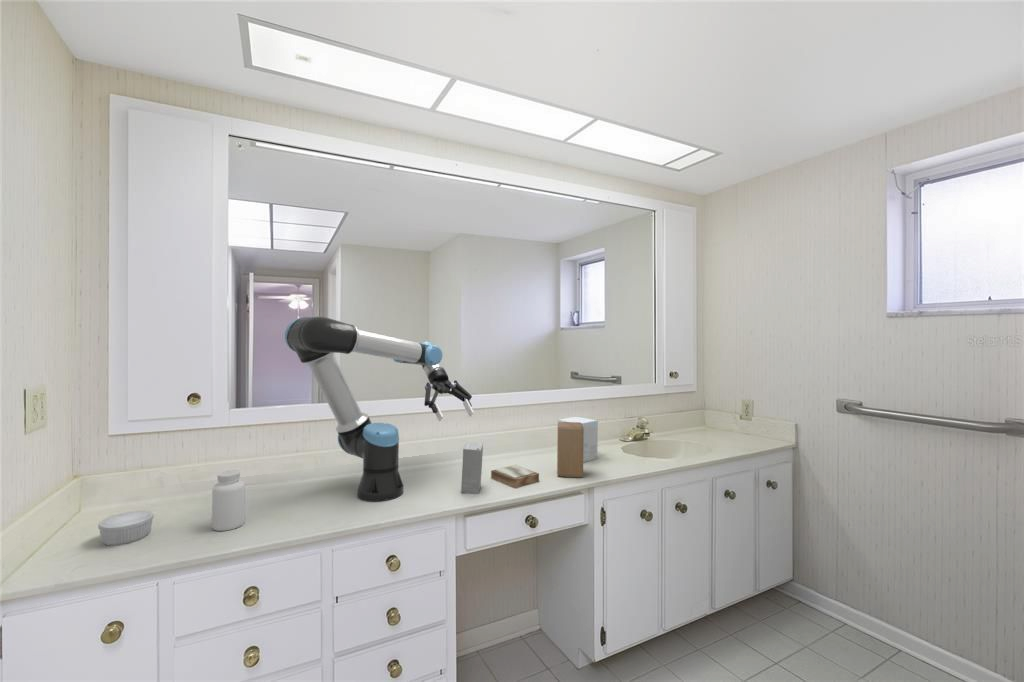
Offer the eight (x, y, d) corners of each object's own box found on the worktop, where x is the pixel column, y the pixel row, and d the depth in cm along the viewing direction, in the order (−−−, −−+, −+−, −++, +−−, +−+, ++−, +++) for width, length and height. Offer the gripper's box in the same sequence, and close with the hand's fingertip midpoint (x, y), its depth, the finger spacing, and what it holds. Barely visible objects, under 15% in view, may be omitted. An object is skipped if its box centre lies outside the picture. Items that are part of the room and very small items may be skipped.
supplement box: (575, 453, 208) (575, 416, 208) (598, 458, 199) (598, 420, 199) (556, 457, 199) (556, 419, 199) (579, 464, 190) (579, 423, 190)
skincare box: (463, 485, 160) (464, 442, 160) (483, 485, 160) (483, 442, 160) (460, 493, 152) (460, 448, 152) (480, 494, 152) (481, 448, 152)
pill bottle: (208, 533, 119) (209, 478, 119) (215, 522, 127) (215, 470, 127) (242, 529, 122) (243, 475, 122) (247, 518, 130) (247, 467, 130)
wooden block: (581, 470, 180) (582, 422, 180) (583, 478, 170) (583, 426, 170) (557, 469, 181) (557, 421, 181) (557, 477, 171) (557, 426, 171)
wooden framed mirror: (514, 488, 158) (514, 478, 158) (491, 478, 169) (491, 469, 169) (538, 481, 166) (538, 472, 166) (515, 472, 177) (515, 464, 177)
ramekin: (132, 547, 112) (132, 526, 112) (85, 548, 111) (85, 527, 111) (164, 528, 123) (164, 509, 123) (121, 529, 122) (121, 510, 122)
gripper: (458, 378, 187) (479, 418, 175) (404, 382, 171) (423, 427, 159) (465, 366, 182) (487, 407, 171) (411, 369, 166) (430, 414, 155)
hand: (456, 416), depth 165 cm, fingers open, 13 cm apart
